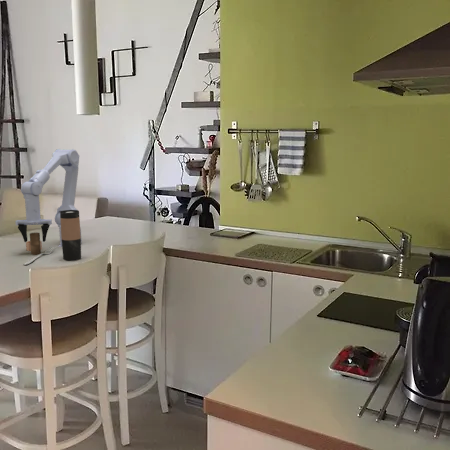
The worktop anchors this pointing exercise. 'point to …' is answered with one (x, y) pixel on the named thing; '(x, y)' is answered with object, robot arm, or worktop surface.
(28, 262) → the fork
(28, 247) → the cup
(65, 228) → the travel mug
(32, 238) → the peg
